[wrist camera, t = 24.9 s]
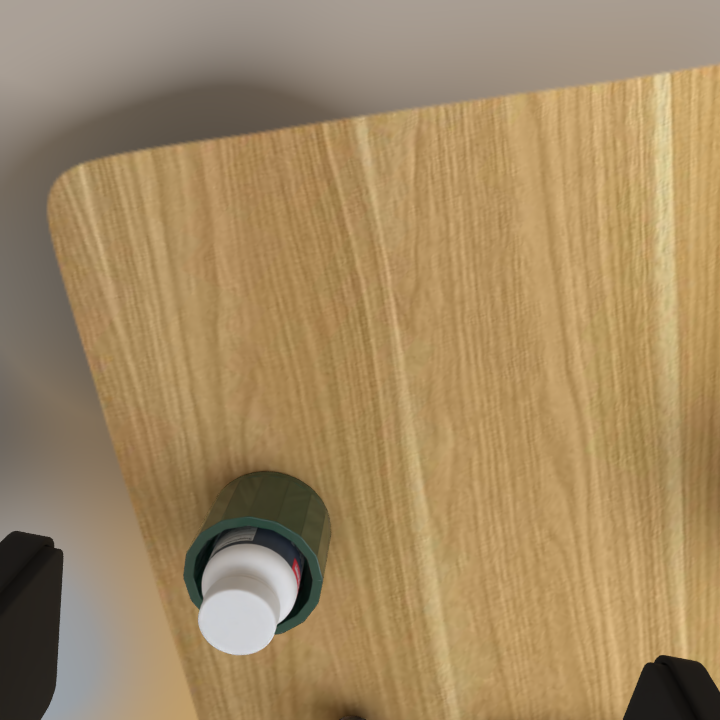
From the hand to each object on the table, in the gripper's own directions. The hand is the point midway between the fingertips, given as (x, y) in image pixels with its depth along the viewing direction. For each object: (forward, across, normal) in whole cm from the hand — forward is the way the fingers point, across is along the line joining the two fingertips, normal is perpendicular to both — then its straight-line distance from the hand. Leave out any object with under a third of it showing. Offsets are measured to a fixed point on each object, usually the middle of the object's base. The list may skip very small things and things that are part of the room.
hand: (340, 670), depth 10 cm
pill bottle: (+28, +4, +16) cm, 32 cm away
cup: (+28, +4, +16) cm, 33 cm away
